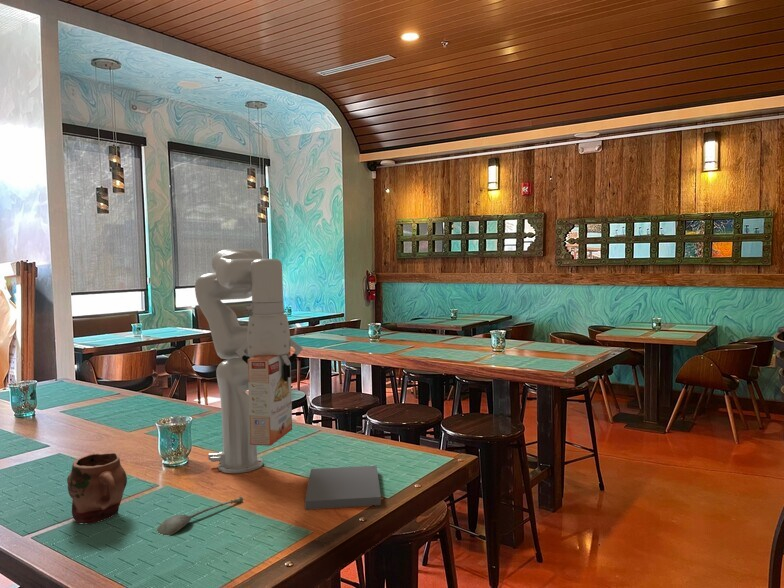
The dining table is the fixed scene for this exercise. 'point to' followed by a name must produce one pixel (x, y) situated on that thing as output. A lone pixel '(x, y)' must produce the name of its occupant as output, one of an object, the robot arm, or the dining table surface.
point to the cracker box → (268, 400)
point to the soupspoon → (185, 519)
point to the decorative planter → (96, 487)
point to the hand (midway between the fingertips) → (270, 380)
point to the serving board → (343, 487)
